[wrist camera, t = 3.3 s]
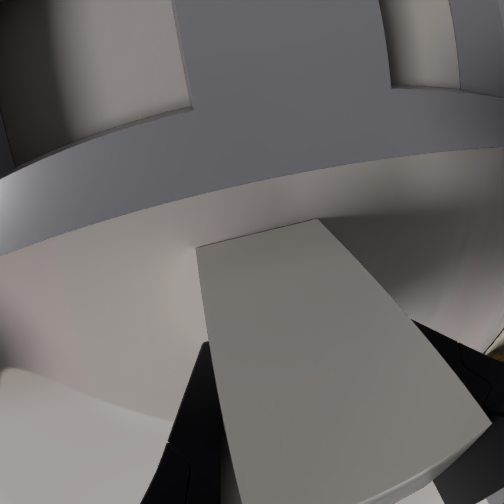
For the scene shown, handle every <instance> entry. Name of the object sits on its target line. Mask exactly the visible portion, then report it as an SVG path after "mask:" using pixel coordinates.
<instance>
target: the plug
mask: <svg viewBox="0 0 504 504" xmlns="http://www.w3.org/2000/svg"><path fill="white" fill-rule="evenodd" d="M196 255H197V263H198V271H199V278H200V285H201V293H202V300H203V306H204V313H205V320H206V326H207V333H208V339H209V345H210V351H211V357H212V363H213V368H214V374H215V380H216V385H217V390H218V396H219V401H220V406H221V411H222V416H223V421H224V426H225V431H226V436H227V440H228V445H229V450H230V454H231V459H232V463H233V468H234V472H235V476H236V480H237V485H238V489H239V493H240V497H241V501H242V504H394V503H396V502H398V501H400V500H401V499H404V498H406V497H407V496H409V495H411V494H413V493H415V492H417V491H418V490H420V489H422V488H423V487H425V486H426V485H427V484H428V483H430V482H431V481H432V480H434V479H435V478H436V477H437V476H438V475H440V474H441V473H442V472H443V471H444V470H445V469H447V468H448V467H449V466H450V465H451V464H452V463H453V462H454V461H456V460H457V459H458V458H459V457H460V456H461V455H462V454H463V453H464V452H465V451H466V450H467V449H468V448H469V447H470V446H471V445H472V444H473V443H474V442H475V441H476V440H477V439H478V438H479V437H480V436H481V435H482V434H483V433H484V432H485V431H486V430H487V429H488V427H489V426H490V425H491V424H492V423H491V421H490V420H489V418H488V417H487V415H486V414H485V413H484V411H483V410H482V409H481V407H480V406H479V404H478V403H477V402H476V400H475V399H474V398H473V396H472V395H471V394H470V392H469V391H468V390H467V388H466V387H465V386H464V384H463V383H462V382H461V380H460V379H459V378H458V377H457V375H456V374H455V373H454V371H453V370H452V369H451V368H450V366H449V365H448V364H447V363H446V361H445V360H444V359H443V358H442V356H441V355H440V354H439V353H438V351H437V350H436V349H435V348H434V346H433V345H432V344H431V343H430V342H429V340H428V339H427V338H426V337H425V336H424V334H423V333H422V332H421V331H420V330H419V328H418V327H417V326H416V325H415V324H414V323H413V321H412V320H411V319H410V318H409V317H408V316H407V314H406V313H405V312H404V311H403V310H402V309H401V308H400V306H399V305H398V304H397V303H396V302H395V301H394V300H393V299H392V297H391V296H390V295H389V294H388V293H387V292H386V291H385V290H384V288H383V287H382V286H381V285H380V284H379V283H378V282H377V281H376V280H375V279H374V278H373V276H372V275H371V274H370V273H369V272H368V271H367V270H366V269H365V268H364V267H363V266H362V265H361V264H360V262H359V261H358V260H357V259H356V258H355V257H354V256H353V255H352V254H351V253H350V252H349V251H348V250H347V249H346V248H345V247H344V246H343V245H342V244H341V243H340V242H339V240H338V239H337V238H336V237H335V236H334V235H333V234H332V233H331V232H330V231H329V230H328V229H327V228H326V227H325V226H324V225H323V224H322V223H321V222H320V221H319V220H318V219H314V220H310V221H306V222H302V223H297V224H293V225H289V226H285V227H281V228H276V229H272V230H268V231H264V232H260V233H256V234H252V235H247V236H243V237H239V238H235V239H231V240H227V241H223V242H219V243H215V244H211V245H207V246H203V247H199V248H196Z"/></svg>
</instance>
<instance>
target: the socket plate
mask: <svg viewBox="0 0 504 504" xmlns="http://www.w3.org/2000/svg"><path fill="white" fill-rule="evenodd" d="M4 1H5V0H0V3H2V2H4ZM449 3H450V8H451V13H452V19H453V24H454V31H455V37H456V44H457V53H458V62H459V73H460V87H461V90H460V89H451V88H440V87H426V86H406V85H391V81H390V71H389V62H388V54H387V47H386V40H385V33H384V27H383V21H382V16H381V10H380V5H379V0H172V6H173V12H174V18H175V23H176V29H177V35H178V40H179V46H180V51H181V56H182V62H183V67H184V72H185V78H186V83H187V88H188V93H189V98H190V103H191V107H186V108H182V109H178V110H174V111H170V112H166V113H162V114H158V115H154V116H151V117H147V118H144V119H140V120H137V121H134V122H130V123H127V124H124V125H121V126H118V127H114V128H111V129H108V130H105V131H103V132H100V133H97V134H94V135H91V136H88V137H86V138H83V139H80V140H78V141H75V142H73V143H70V144H67V145H65V146H62V147H60V148H58V149H55V150H53V151H50V152H48V153H46V154H44V155H41V156H39V157H37V158H35V159H32V160H30V161H28V162H26V163H24V164H22V165H20V166H18V167H15V165H14V161H13V158H12V155H11V151H10V147H9V144H8V140H7V136H6V132H5V128H4V124H3V119H2V115H1V110H0V256H2V255H4V254H7V253H10V252H12V251H15V250H18V249H20V248H23V247H26V246H29V245H32V244H34V243H37V242H40V241H43V240H46V239H49V238H52V237H55V236H57V235H60V234H63V233H66V232H70V231H73V230H76V229H79V228H82V227H85V226H88V225H91V224H95V223H98V222H101V221H104V220H108V219H111V218H114V217H118V216H121V215H125V214H128V213H132V212H135V211H139V210H142V209H146V208H149V207H153V206H157V205H160V204H164V203H168V202H172V201H176V200H180V199H183V198H187V197H191V196H195V195H199V194H204V193H208V192H212V191H216V190H220V189H225V188H229V187H233V186H238V185H242V184H247V183H251V182H256V181H261V180H266V179H270V178H275V177H280V176H285V175H290V174H296V173H301V172H306V171H312V170H317V169H323V168H328V167H334V166H340V165H346V164H352V163H359V162H365V161H372V160H379V159H386V158H393V157H401V156H409V155H417V154H425V153H434V152H444V151H454V150H465V149H478V148H492V147H504V0H449Z"/></svg>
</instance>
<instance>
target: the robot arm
mask: <svg viewBox="0 0 504 504" xmlns="http://www.w3.org/2000/svg"><path fill="white" fill-rule="evenodd" d="M411 320H412V319H411ZM412 321H413V323H414V324H415V325H416V326H417V327H418V328H419V330H420V331H421V332H422V333H423V334H424V336H425V337H426V338H427V339H428V340H429V342H430V343H431V344H432V345H433V346H434V348H435V349H436V350H437V351H438V353H439V354H440V355H441V356H442V358H443V359H444V360H445V361H446V363H447V364H448V365H449V366H450V368H451V369H452V370H453V371H454V373H455V374H456V375H457V377H458V378H459V379H460V380H461V382H462V383H463V384H464V386H465V387H466V388H467V390H468V391H469V392H470V394H471V395H472V396H473V398H474V399H475V400H476V402H477V403H478V404H479V406H480V407H481V409H482V410H483V411H484V413H485V414H486V415H487V417H488V418H489V420H490V421H491V423H492V424H491V425H490V426H489V427H488V429H487V430H486V431H485V432H484V433H483V434H482V435H481V436H480V437H479V438H478V439H477V440H476V441H475V442H474V443H473V444H472V445H471V446H470V447H469V448H468V449H467V450H466V451H465V452H464V453H463V454H462V455H461V456H460V457H459V458H458V459H457V460H456V461H454V462H453V463H452V464H451V465H450V466H449V467H448V468H447V469H445V470H444V471H443V472H442V473H441V474H440V475H438V476H437V477H436V478H435V479H434V480H433V482H434V484H435V486H436V488H437V490H438V492H439V493H440V495H441V498H442V499H443V501H444V503H445V504H476V503H478V502H480V501H481V500H483V499H485V498H486V499H487V501H488V503H489V504H504V362H503V361H500V360H498V359H495V358H492V357H490V356H487V355H485V354H482V353H480V352H478V351H476V350H474V349H472V348H469V347H467V346H465V345H463V344H461V343H458V342H457V341H455V340H453V339H451V338H449V337H447V336H445V335H443V334H441V333H439V332H436V331H434V330H432V329H430V328H428V327H426V326H424V325H422V324H420V323H418V322H416V321H414V320H412ZM168 442H169V443H167V444H166V446H165V450H164V452H163V455H162V458H161V460H160V463H159V465H158V468H157V470H156V473H155V475H154V477H153V479H152V481H151V483H150V485H149V488H148V489H147V491H146V494H145V495H144V498H143V499H142V501H141V503H140V504H242V501H241V497H240V493H239V489H238V485H237V480H236V476H235V472H234V468H233V463H232V459H231V454H230V450H229V445H228V440H227V436H226V431H225V426H224V421H223V416H222V411H221V406H220V401H219V396H218V390H217V385H216V380H215V374H214V368H213V363H212V357H211V351H210V345H209V341H207V342H204V343H203V344H202V346H201V349H200V352H199V354H198V357H197V360H196V363H195V365H194V368H193V371H192V374H191V377H190V379H189V382H188V385H187V388H186V390H185V393H184V396H183V399H182V402H181V404H180V407H179V410H178V413H177V416H176V418H175V421H174V424H173V427H172V430H171V433H170V435H169V439H168Z"/></svg>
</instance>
